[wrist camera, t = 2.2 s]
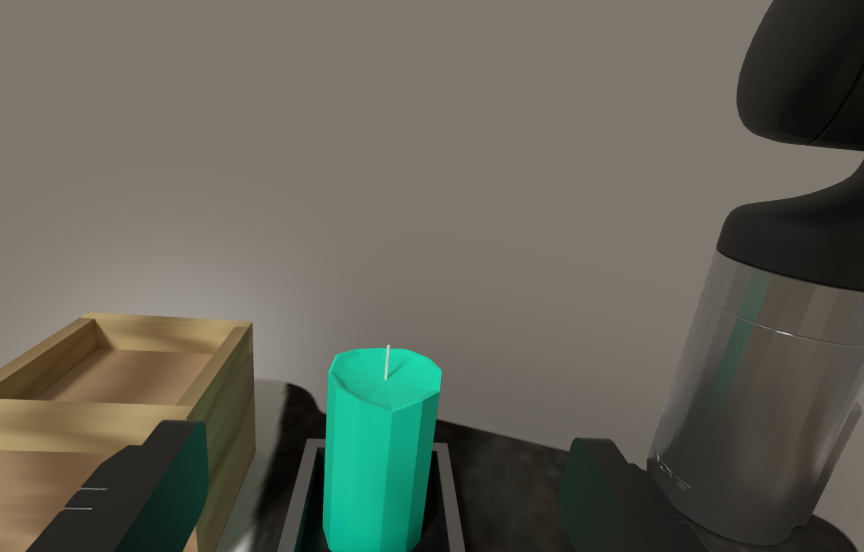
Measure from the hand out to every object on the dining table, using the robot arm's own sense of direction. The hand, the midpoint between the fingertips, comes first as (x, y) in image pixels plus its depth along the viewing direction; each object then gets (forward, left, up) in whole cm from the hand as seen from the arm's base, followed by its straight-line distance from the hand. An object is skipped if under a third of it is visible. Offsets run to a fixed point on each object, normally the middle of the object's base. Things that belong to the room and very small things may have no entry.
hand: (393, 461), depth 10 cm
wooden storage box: (+13, -14, -16) cm, 25 cm away
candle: (0, -13, -16) cm, 21 cm away
